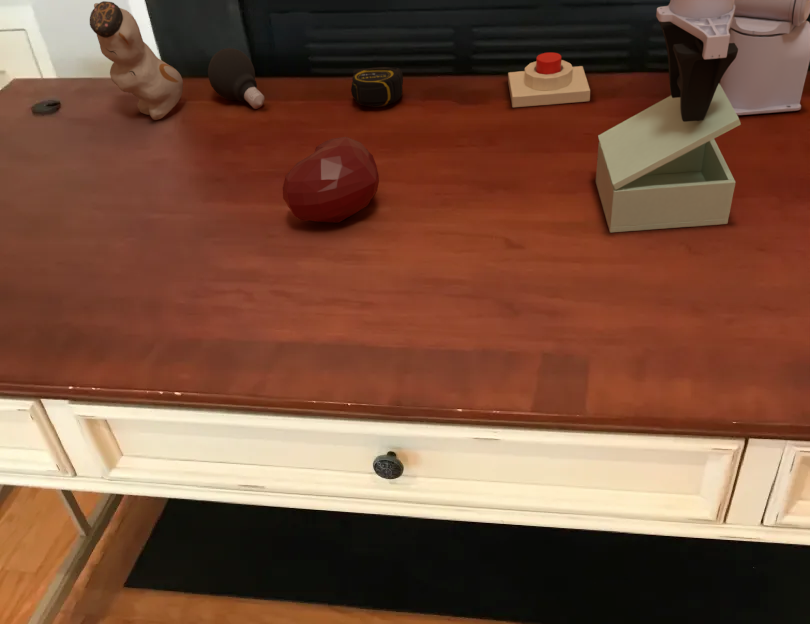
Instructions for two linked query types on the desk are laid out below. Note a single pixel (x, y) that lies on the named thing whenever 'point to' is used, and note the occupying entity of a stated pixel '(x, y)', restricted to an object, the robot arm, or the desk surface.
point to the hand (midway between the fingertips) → (686, 107)
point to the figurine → (135, 61)
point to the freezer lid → (661, 136)
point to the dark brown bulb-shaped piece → (234, 77)
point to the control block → (548, 86)
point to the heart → (332, 182)
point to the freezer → (670, 193)
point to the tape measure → (377, 86)
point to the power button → (548, 63)
